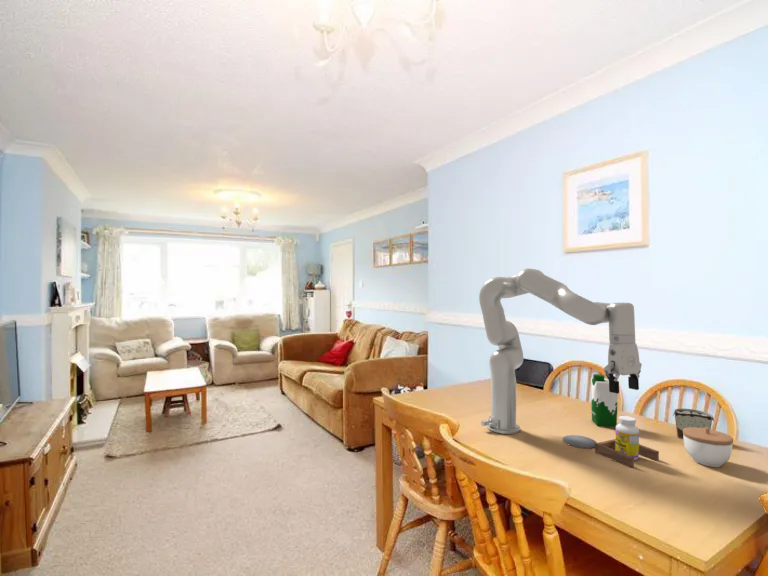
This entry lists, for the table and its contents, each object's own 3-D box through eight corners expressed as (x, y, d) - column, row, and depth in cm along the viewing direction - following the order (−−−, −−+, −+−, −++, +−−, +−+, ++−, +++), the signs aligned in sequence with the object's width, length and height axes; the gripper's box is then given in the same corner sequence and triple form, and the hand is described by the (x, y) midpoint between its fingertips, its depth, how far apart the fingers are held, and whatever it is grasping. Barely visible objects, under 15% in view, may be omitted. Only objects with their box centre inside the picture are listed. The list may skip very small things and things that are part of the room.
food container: (708, 437, 151) (708, 410, 151) (714, 442, 145) (714, 415, 145) (669, 432, 156) (669, 406, 156) (672, 437, 150) (673, 410, 150)
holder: (631, 467, 125) (631, 458, 125) (594, 452, 136) (594, 443, 136) (658, 460, 130) (658, 451, 130) (621, 446, 142) (621, 437, 142)
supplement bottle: (610, 452, 136) (611, 415, 136) (629, 452, 137) (629, 414, 137) (624, 461, 129) (624, 421, 129) (643, 460, 130) (643, 421, 130)
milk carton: (589, 419, 170) (589, 372, 170) (612, 421, 168) (612, 373, 168) (595, 426, 161) (595, 377, 161) (620, 428, 160) (620, 378, 160)
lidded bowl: (736, 474, 121) (737, 438, 121) (684, 464, 127) (684, 430, 127) (728, 459, 131) (728, 425, 131) (680, 451, 138) (681, 419, 138)
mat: (581, 450, 138) (581, 448, 138) (556, 439, 148) (556, 437, 148) (604, 445, 142) (604, 443, 142) (577, 435, 152) (577, 433, 152)
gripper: (615, 342, 127) (617, 396, 127) (650, 338, 134) (652, 390, 134) (594, 340, 134) (596, 391, 134) (628, 336, 141) (630, 385, 141)
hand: (624, 390), depth 134 cm, fingers open, 9 cm apart
